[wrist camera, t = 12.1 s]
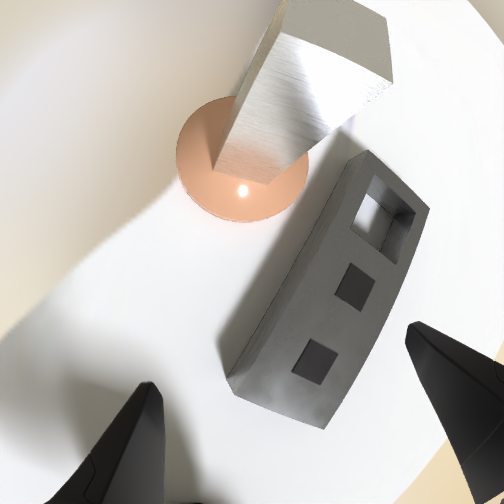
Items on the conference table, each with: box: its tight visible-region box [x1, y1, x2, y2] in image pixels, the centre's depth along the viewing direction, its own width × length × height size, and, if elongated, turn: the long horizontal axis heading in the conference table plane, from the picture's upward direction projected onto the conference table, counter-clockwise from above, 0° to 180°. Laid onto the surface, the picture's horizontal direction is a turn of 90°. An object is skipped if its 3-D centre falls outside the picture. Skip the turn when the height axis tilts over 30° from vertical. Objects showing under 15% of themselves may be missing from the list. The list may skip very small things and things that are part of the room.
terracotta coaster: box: [176, 96, 309, 223], centre depth 22 cm, size 10×10×1 cm
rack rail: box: [226, 150, 430, 429], centre depth 22 cm, size 20×8×3 cm, turn 148°
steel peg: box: [213, 0, 393, 186], centre depth 14 cm, size 4×4×14 cm
